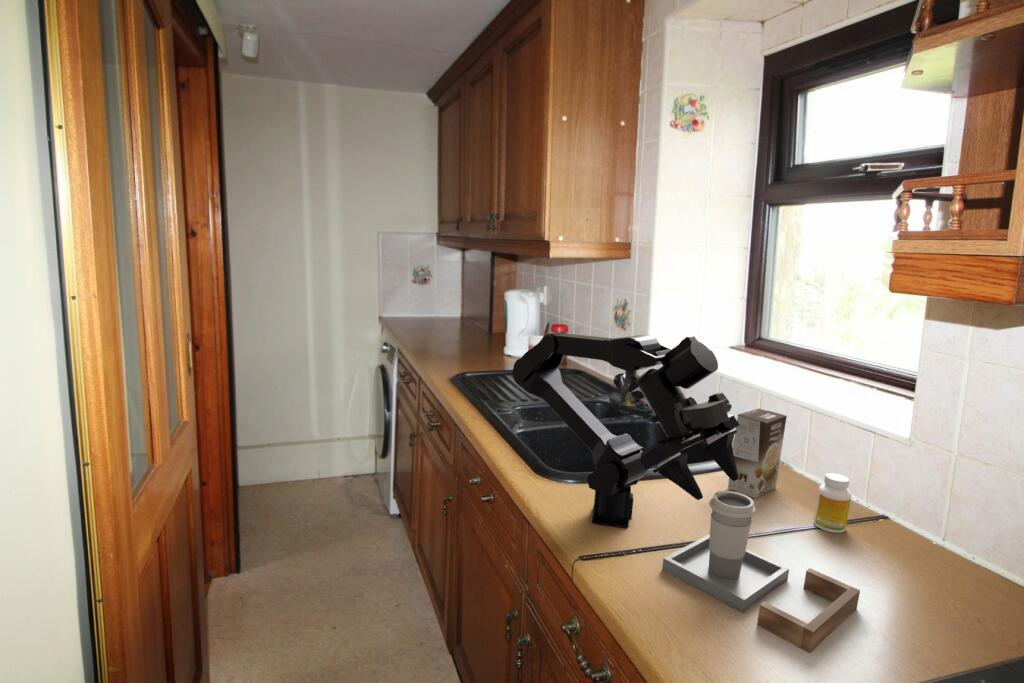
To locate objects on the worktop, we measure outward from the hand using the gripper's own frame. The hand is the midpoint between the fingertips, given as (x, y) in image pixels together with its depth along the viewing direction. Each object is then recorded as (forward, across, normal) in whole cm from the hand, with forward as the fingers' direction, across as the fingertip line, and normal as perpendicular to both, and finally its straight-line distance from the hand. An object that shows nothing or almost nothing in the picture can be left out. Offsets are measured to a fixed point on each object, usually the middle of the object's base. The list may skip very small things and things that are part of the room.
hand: (718, 489), depth 99 cm
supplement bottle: (+15, +29, +8) cm, 34 cm away
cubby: (+20, -1, -4) cm, 21 cm away
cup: (+11, -2, +6) cm, 13 cm away
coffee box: (+4, +32, +21) cm, 38 cm away
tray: (+12, -2, +6) cm, 13 cm away
